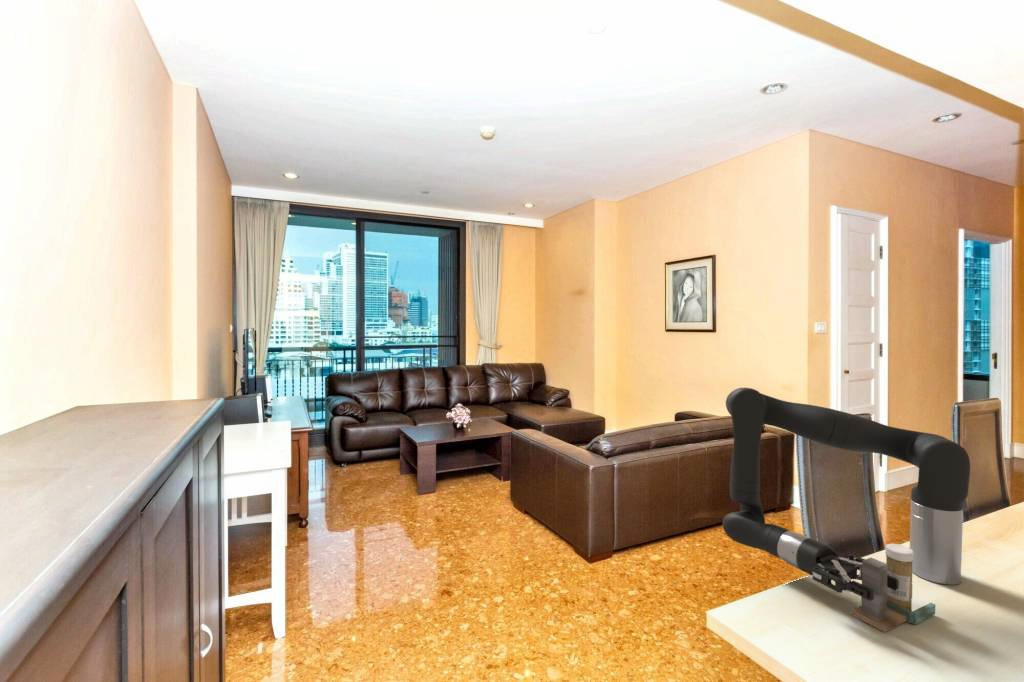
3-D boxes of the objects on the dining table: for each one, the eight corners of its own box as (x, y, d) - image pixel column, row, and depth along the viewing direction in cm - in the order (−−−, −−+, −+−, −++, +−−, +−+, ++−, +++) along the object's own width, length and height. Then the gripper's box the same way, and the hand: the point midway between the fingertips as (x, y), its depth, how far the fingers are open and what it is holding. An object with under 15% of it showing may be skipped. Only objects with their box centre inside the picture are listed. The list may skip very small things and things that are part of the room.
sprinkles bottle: (915, 611, 99) (917, 549, 98) (907, 619, 96) (909, 555, 96) (888, 601, 102) (890, 540, 102) (880, 608, 100) (881, 546, 99)
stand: (887, 592, 105) (889, 539, 105) (935, 614, 97) (936, 557, 97) (844, 611, 99) (846, 555, 98) (892, 635, 91) (893, 575, 90)
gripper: (784, 544, 105) (864, 580, 90) (825, 531, 111) (906, 563, 96) (784, 577, 106) (863, 618, 91) (824, 562, 112) (905, 599, 97)
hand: (885, 590), depth 94 cm, fingers open, 8 cm apart
